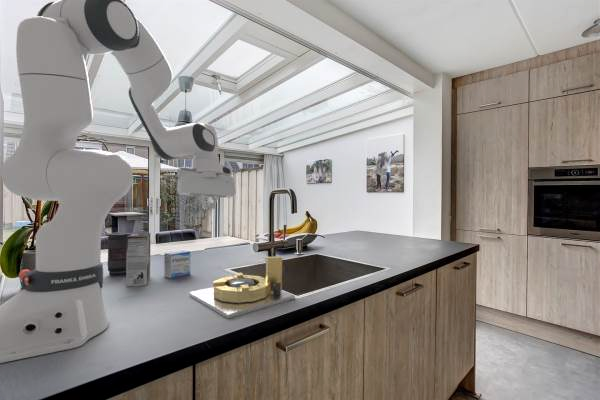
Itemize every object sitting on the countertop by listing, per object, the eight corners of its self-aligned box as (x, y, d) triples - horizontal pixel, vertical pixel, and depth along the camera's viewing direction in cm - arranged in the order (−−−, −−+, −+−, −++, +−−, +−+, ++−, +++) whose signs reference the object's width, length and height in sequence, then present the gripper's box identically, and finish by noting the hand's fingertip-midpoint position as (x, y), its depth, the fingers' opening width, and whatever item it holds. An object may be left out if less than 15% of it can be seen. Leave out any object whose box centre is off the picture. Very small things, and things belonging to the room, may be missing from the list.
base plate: (227, 318, 74) (227, 300, 74) (189, 295, 90) (189, 280, 90) (294, 298, 89) (295, 283, 89) (251, 281, 105) (251, 268, 105)
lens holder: (202, 299, 83) (203, 262, 83) (228, 282, 99) (229, 252, 99) (267, 305, 79) (268, 267, 79) (284, 287, 95) (285, 255, 95)
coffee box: (130, 279, 106) (130, 232, 105) (150, 277, 108) (151, 232, 108) (125, 287, 97) (125, 236, 97) (147, 285, 99) (148, 235, 99)
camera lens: (137, 271, 116) (138, 232, 115) (123, 277, 108) (123, 235, 107) (117, 271, 116) (117, 231, 116) (101, 276, 108) (102, 234, 108)
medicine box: (170, 279, 107) (170, 254, 107) (163, 276, 110) (164, 252, 109) (190, 274, 113) (190, 251, 113) (183, 272, 116) (184, 249, 116)
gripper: (180, 163, 97) (182, 205, 95) (236, 170, 111) (239, 207, 108) (173, 168, 102) (174, 209, 99) (227, 175, 116) (230, 211, 113)
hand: (208, 208), depth 104 cm, fingers closed
